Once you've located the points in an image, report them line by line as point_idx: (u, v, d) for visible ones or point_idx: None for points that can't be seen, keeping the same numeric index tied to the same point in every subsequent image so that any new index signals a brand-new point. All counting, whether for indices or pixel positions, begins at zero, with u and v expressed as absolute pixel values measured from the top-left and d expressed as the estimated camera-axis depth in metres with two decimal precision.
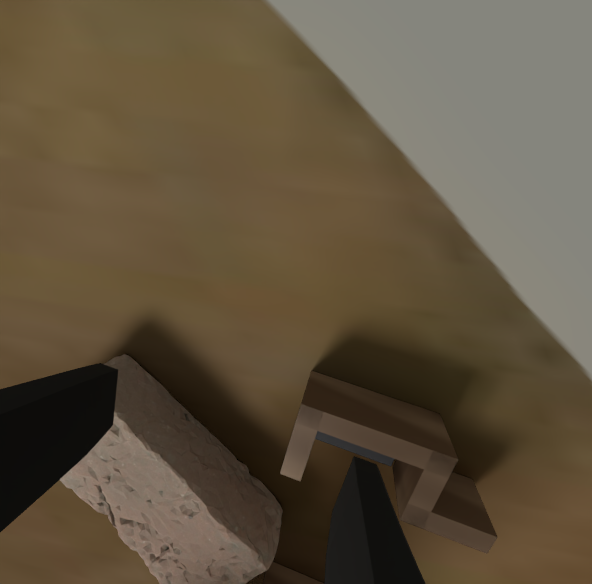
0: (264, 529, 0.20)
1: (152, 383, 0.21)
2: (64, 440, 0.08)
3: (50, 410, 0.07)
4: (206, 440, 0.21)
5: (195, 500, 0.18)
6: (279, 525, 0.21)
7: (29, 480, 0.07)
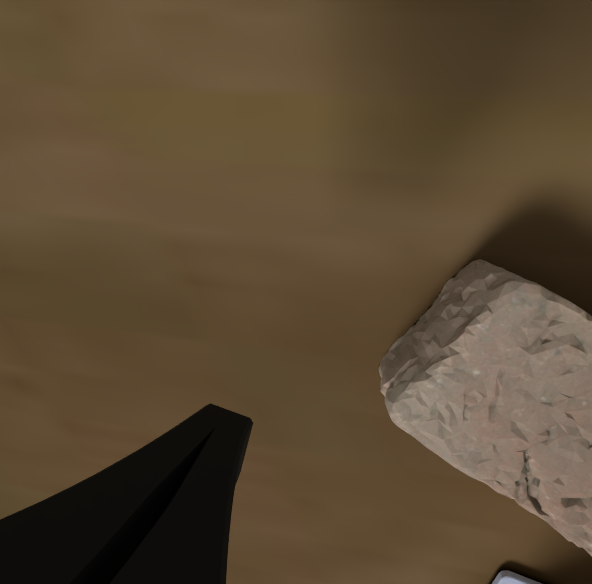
0: None
1: None
2: None
3: (189, 465, 0.07)
4: None
5: None
6: None
7: None
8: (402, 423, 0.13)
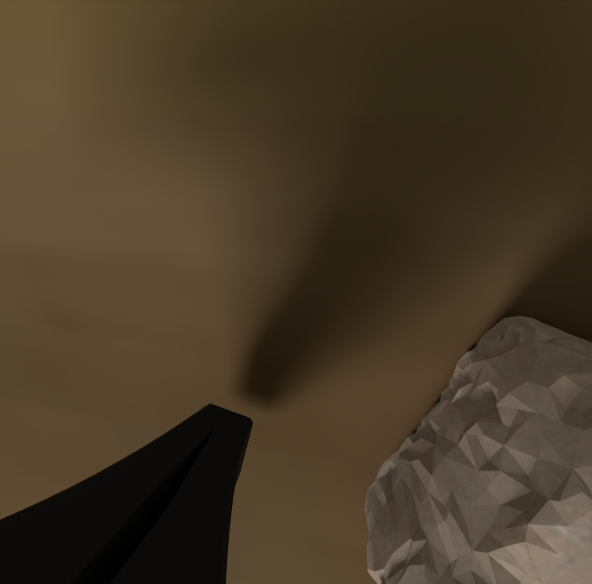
0: None
1: None
2: None
3: (189, 465, 0.07)
4: None
5: None
6: None
7: None
8: None
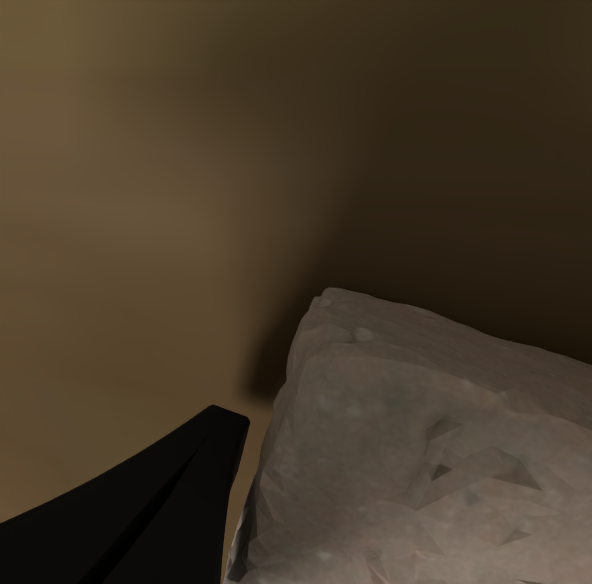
0: None
1: (439, 318, 0.07)
2: None
3: None
4: None
5: None
6: None
7: None
8: None
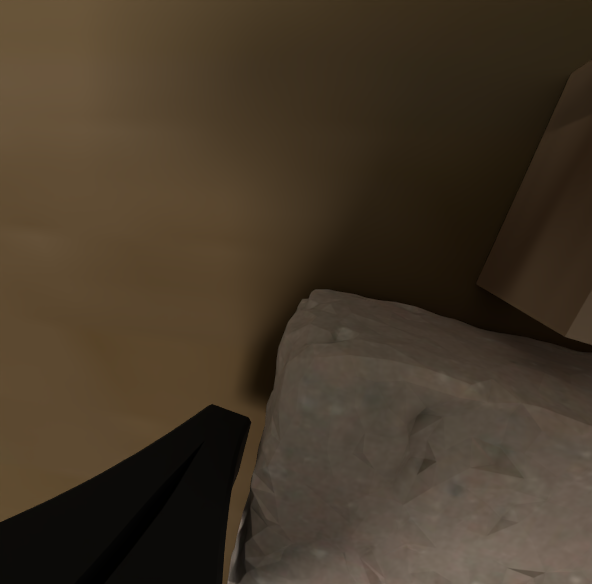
0: None
1: (426, 314, 0.07)
2: None
3: None
4: None
5: None
6: None
7: None
8: None
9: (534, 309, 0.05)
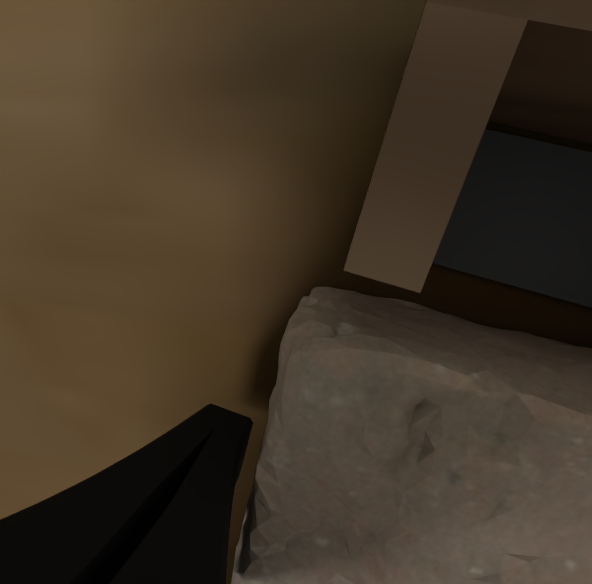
0: None
1: (424, 309, 0.08)
2: None
3: (189, 465, 0.07)
4: None
5: None
6: None
7: None
8: None
9: (348, 254, 0.06)
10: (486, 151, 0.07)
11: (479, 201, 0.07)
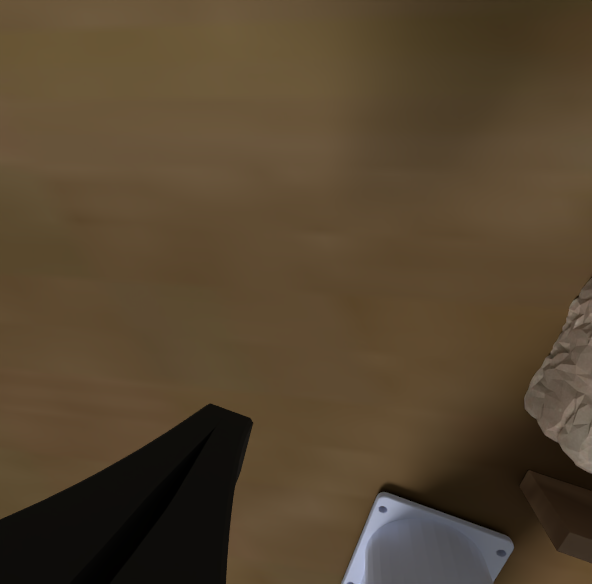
0: None
1: None
2: None
3: (189, 465, 0.07)
4: None
5: None
6: None
7: None
8: None
9: None
10: None
11: None
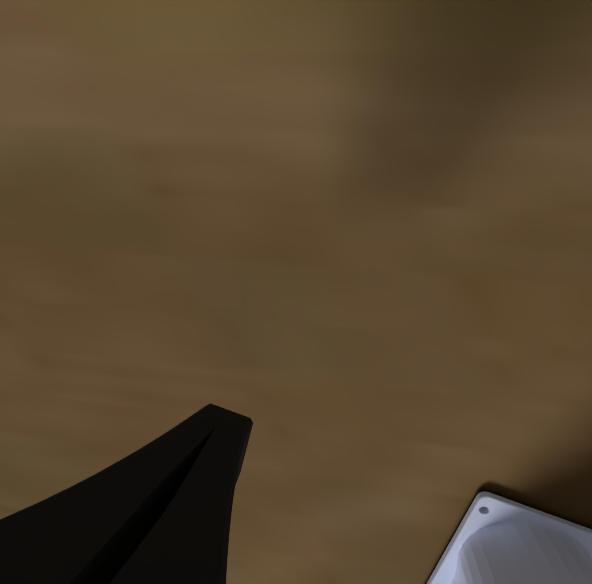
0: None
1: None
2: None
3: (189, 465, 0.07)
4: None
5: None
6: None
7: None
8: None
9: None
10: None
11: None
